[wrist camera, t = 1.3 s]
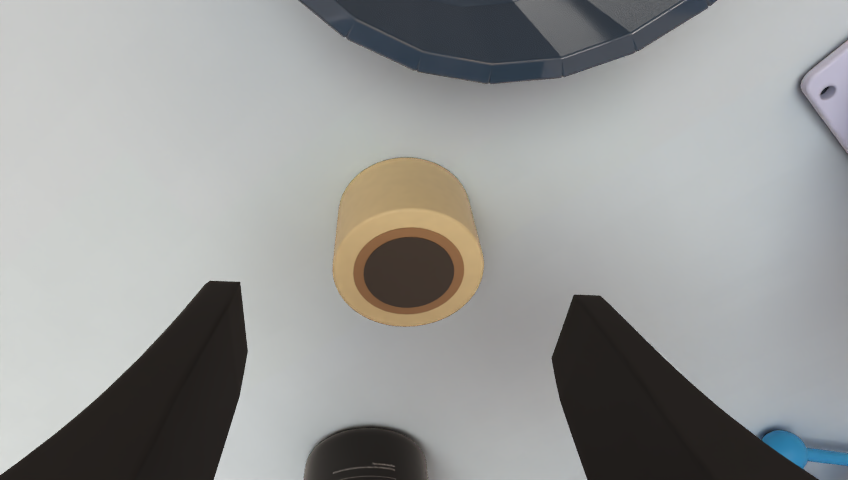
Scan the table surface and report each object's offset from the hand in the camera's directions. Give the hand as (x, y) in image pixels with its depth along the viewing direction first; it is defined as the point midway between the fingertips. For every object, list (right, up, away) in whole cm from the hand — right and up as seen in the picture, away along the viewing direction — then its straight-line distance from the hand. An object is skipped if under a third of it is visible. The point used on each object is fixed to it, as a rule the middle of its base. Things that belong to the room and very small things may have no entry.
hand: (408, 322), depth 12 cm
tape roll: (0, +3, +10) cm, 10 cm away
